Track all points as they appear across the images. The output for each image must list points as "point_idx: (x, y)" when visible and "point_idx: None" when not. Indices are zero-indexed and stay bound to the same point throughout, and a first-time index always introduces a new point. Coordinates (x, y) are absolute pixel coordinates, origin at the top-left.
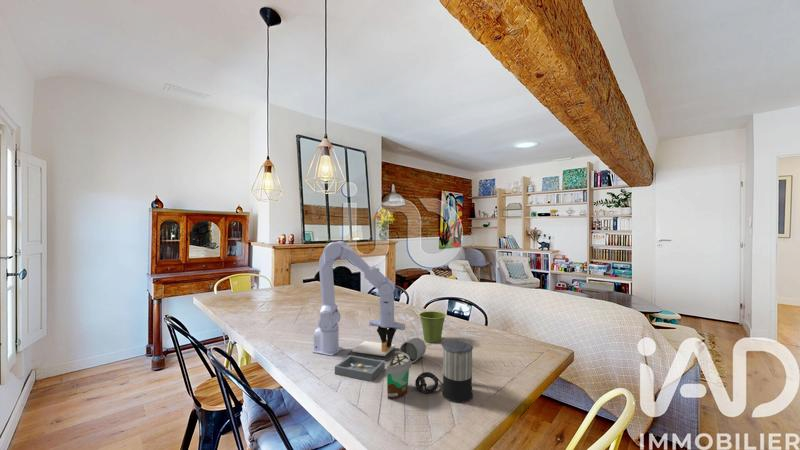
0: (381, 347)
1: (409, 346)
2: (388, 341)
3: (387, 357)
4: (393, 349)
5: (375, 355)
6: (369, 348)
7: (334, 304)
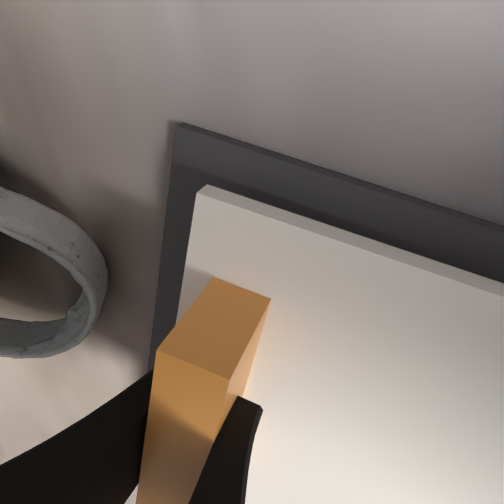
0: (304, 431)
1: None
2: (98, 425)
3: None
4: None
5: None
6: (501, 437)
7: None
